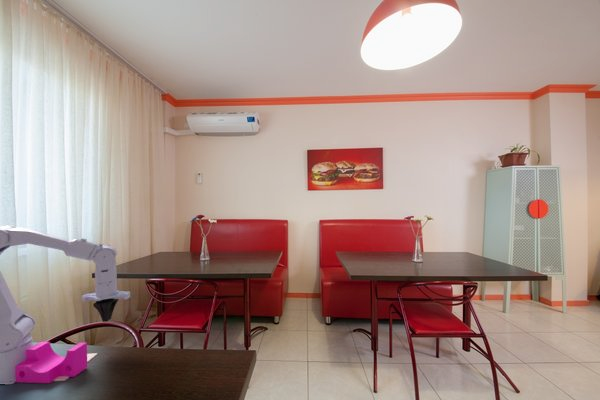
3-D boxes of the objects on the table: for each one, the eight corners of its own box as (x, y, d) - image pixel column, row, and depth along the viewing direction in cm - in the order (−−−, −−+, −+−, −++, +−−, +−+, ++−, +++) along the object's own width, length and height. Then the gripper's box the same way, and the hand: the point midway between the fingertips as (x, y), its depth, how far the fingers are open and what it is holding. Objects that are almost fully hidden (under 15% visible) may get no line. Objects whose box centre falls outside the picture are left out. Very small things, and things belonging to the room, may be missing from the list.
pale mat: (37, 382, 64) (37, 381, 64) (74, 355, 75) (74, 354, 75) (65, 380, 64) (65, 379, 64) (97, 354, 75) (97, 353, 75)
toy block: (15, 382, 64) (14, 355, 64) (42, 365, 70) (41, 341, 70) (64, 383, 63) (64, 356, 63) (87, 367, 69) (86, 342, 69)
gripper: (73, 286, 74) (74, 328, 74) (119, 284, 75) (120, 325, 75) (91, 279, 81) (92, 316, 81) (133, 277, 82) (134, 314, 82)
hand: (107, 320), depth 79 cm, fingers closed
